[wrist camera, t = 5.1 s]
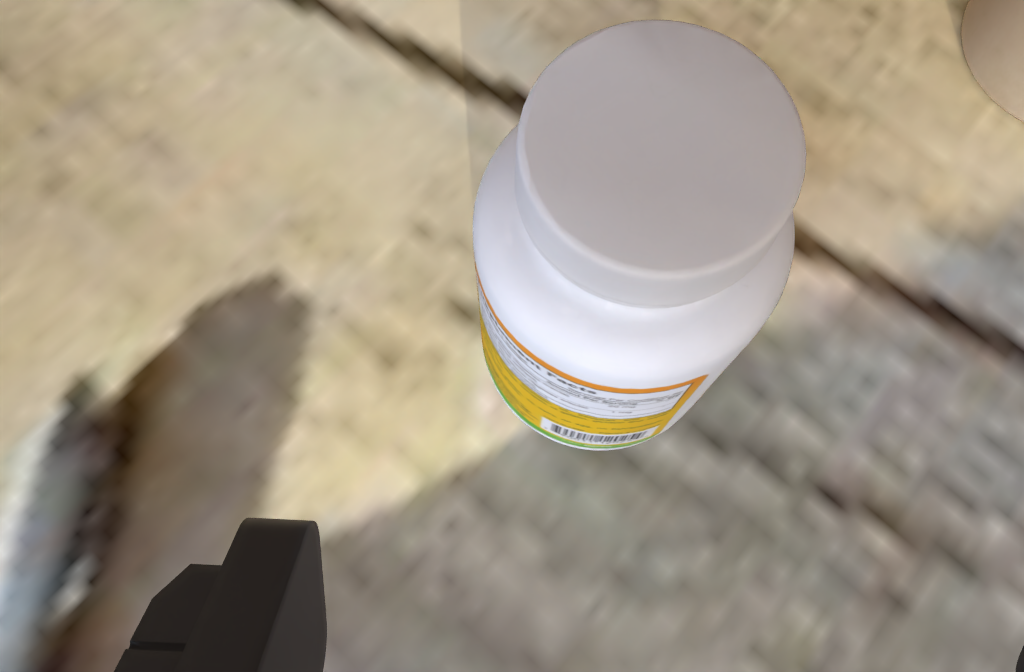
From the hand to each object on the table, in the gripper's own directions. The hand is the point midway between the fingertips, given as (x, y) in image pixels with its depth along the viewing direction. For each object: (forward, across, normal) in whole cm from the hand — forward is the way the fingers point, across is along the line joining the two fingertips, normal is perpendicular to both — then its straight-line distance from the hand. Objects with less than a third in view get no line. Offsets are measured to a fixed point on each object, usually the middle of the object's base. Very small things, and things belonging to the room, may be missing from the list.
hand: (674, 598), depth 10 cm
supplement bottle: (+12, 0, +3) cm, 12 cm away
